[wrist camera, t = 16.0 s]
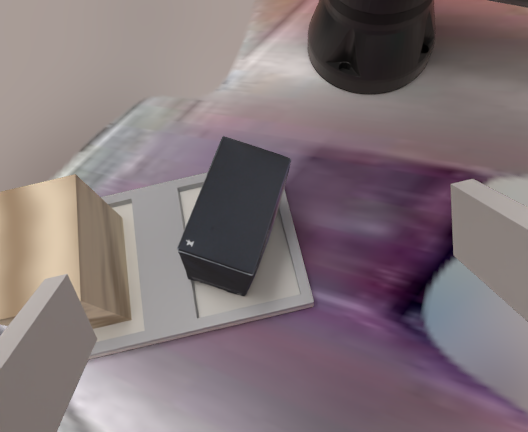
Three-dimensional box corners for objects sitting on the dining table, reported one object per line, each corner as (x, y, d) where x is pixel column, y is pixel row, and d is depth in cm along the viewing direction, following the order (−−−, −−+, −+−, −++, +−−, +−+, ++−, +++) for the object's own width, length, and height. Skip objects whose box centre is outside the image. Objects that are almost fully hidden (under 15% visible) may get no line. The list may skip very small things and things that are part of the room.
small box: (249, 300, 40) (255, 280, 30) (185, 278, 40) (171, 252, 30) (280, 203, 44) (295, 157, 34) (221, 184, 44) (219, 132, 34)
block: (122, 217, 44) (75, 174, 35) (131, 319, 40) (80, 300, 31) (59, 232, 44) (-5, 193, 35) (61, 336, 40) (-11, 322, 31)
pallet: (276, 167, 47) (275, 156, 44) (313, 306, 41) (313, 302, 38) (44, 222, 47) (30, 213, 44) (45, 369, 41) (29, 368, 38)
